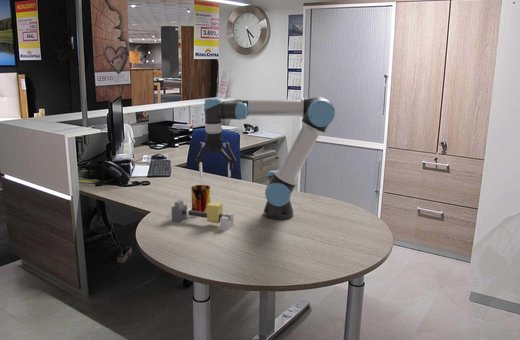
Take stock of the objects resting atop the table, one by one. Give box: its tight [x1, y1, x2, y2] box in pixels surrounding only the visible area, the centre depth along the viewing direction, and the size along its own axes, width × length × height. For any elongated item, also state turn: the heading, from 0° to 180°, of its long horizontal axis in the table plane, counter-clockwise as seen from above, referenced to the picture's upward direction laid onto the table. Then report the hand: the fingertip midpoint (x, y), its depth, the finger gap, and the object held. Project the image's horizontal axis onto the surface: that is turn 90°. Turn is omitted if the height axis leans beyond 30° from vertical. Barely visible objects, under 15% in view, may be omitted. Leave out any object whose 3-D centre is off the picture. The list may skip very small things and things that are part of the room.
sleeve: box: [206, 201, 223, 224], centre depth 214 cm, size 6×4×8 cm
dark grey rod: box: [183, 207, 229, 220], centre depth 217 cm, size 28×4×4 cm, turn 68°
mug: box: [191, 184, 211, 212], centre depth 235 cm, size 10×14×12 cm
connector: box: [171, 199, 188, 223], centre depth 221 cm, size 5×6×9 cm
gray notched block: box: [219, 212, 235, 232], centre depth 212 cm, size 3×8×6 cm, turn 158°
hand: (215, 176), depth 214 cm, fingers open, 13 cm apart
